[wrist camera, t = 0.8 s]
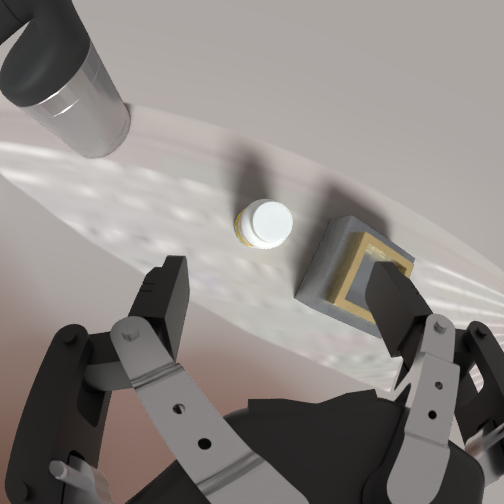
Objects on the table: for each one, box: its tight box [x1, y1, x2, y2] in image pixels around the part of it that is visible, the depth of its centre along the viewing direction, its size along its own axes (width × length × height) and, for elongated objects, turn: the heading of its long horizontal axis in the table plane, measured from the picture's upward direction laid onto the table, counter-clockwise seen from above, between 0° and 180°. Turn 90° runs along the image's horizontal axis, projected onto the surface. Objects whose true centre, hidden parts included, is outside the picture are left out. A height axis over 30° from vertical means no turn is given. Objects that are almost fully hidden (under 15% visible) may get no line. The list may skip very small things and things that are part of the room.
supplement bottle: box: [234, 199, 293, 249], centre depth 31 cm, size 5×5×10 cm
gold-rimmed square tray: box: [294, 215, 415, 339], centre depth 34 cm, size 12×12×8 cm
